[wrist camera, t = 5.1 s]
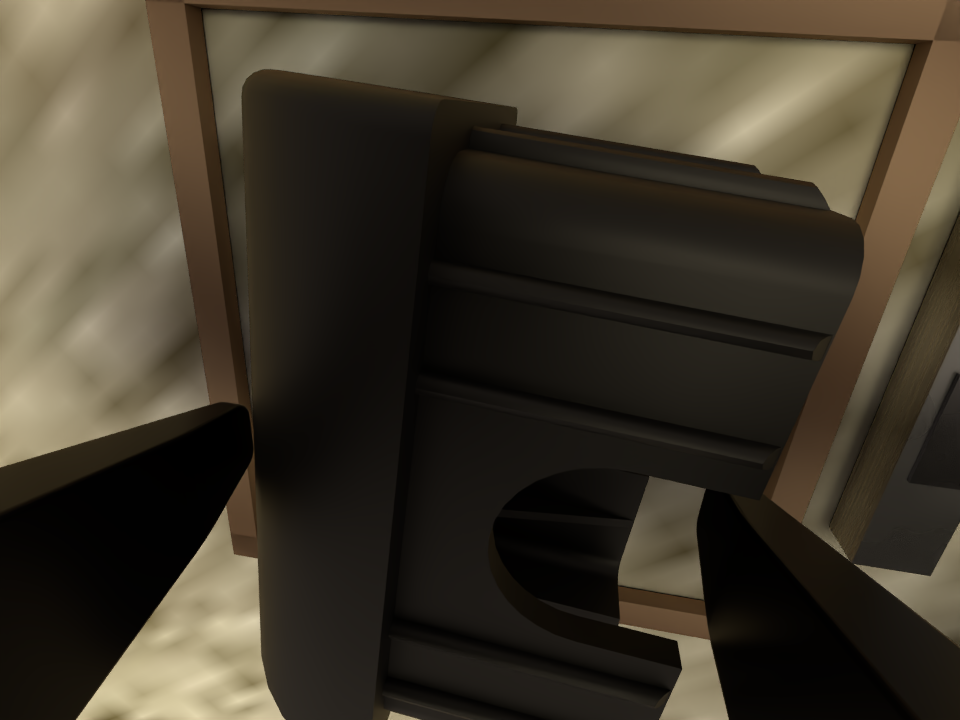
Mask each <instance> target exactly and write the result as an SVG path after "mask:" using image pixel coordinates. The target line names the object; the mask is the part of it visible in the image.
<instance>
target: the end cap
mask: <svg viewBox="0 0 960 720" xmlns="http://www.w3.org/2000/svg"><path fill="white" fill-rule="evenodd" d="M241 98H242V126H243V154H244V182H245V210H246V238H247V266H248V294H249V322H250V349H251V377H252V405H253V433H254V461H255V489H256V517H257V545H258V573H259V601H260V628H261V656H262V661H263V665H264V670H265V675H266V679H267V684H268V687H269V690H270V692H271V694H272V696H273V698H274V700H275V702H276V704H277V706H278V708H279V710H280V712H281V714H282V716H283V717H284V718H285V720H388V717H389V714H390V711H392V712H396V713H399V714H403V715H406V716H410V717H414V718H417V719H421V720H659V718H660V716H661V714H662V712H663V710H664V708H665V705H666V703H667V701H668V699H669V697H670V695H671V692H672V690H673V688H674V686H675V684H676V681H677V679H678V677H679V675H680V673H681V671H682V666H681V660H680V654H679V648H678V642H677V641H675V640H671V639H667V638H663V637H659V636H655V635H652V634H648V633H644V632H640V631H636V630H632V629H628V628H624V627H620V626H618V624H619V621H620V609H619V593H618V570H619V565H620V561H621V558H622V555H623V552H624V549H625V546H626V543H627V541H628V538H629V535H630V532H631V529H632V526H633V523H634V520H635V517H636V514H637V511H638V509H639V506H640V503H641V500H642V497H643V494H644V491H645V488H646V485H647V482H648V479H649V476H652V477H657V478H661V479H666V480H670V481H674V482H679V483H683V484H688V485H692V486H697V487H701V488H706V489H710V490H714V491H719V492H723V493H728V494H732V495H737V496H741V497H746V498H750V499H754V500H759V501H760V499H761V496H762V494H763V492H764V490H765V488H766V486H767V483H768V481H769V479H770V477H771V475H772V473H773V470H774V468H775V466H776V464H777V462H778V459H779V457H780V455H781V453H782V451H783V449H784V446H785V444H786V442H787V440H788V438H789V436H790V433H791V431H792V429H793V427H794V425H795V422H796V420H797V418H798V416H799V414H800V412H801V409H802V407H803V405H804V403H805V401H806V399H807V396H808V394H809V392H810V390H811V388H812V385H813V383H814V381H815V379H816V377H817V375H818V372H819V370H820V368H821V366H822V364H823V362H824V359H825V357H826V355H827V353H828V351H829V348H830V346H831V344H832V342H833V340H834V338H835V335H836V333H837V331H838V329H839V327H840V325H841V322H842V320H843V318H844V316H845V314H846V311H847V309H848V307H849V305H850V303H851V301H852V298H853V296H854V293H855V290H856V287H857V285H858V282H859V279H860V276H861V270H862V265H863V260H864V237H863V234H862V231H861V228H860V225H859V224H858V223H857V222H855V221H854V220H853V219H852V218H849V217H847V216H844V215H842V214H839V213H836V212H834V211H831V210H830V208H829V206H828V204H827V202H826V200H825V198H824V197H823V195H822V193H821V192H820V190H819V189H818V187H816V186H815V185H814V184H813V183H812V182H806V181H800V180H794V179H788V178H782V177H776V176H770V175H764V174H761V173H760V172H759V170H758V169H757V168H756V167H755V165H749V164H743V163H737V162H731V161H725V160H719V159H713V158H707V157H701V156H695V155H689V154H682V153H676V152H670V151H664V150H658V149H652V148H646V147H640V146H634V145H628V144H622V143H616V142H610V141H604V140H598V139H592V138H586V137H580V136H574V135H568V134H562V133H556V132H550V131H544V130H538V129H532V128H526V127H520V126H516V121H517V108H516V107H510V106H504V105H497V104H491V103H485V102H479V101H473V100H467V99H460V98H454V97H448V96H442V95H435V94H429V93H423V92H417V91H410V90H404V89H398V88H391V87H385V86H379V85H372V84H366V83H360V82H353V81H347V80H340V79H334V78H327V77H321V76H314V75H308V74H301V73H294V72H288V71H281V70H273V69H264V70H260V71H257V72H255V73H253V74H252V75H251V76H249V77H248V78H247V79H246V81H245V83H244V85H243V88H242V96H241Z"/></svg>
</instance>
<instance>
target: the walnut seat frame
mask: <svg viewBox="0 0 960 720" xmlns="http://www.w3.org/2000/svg"><path fill="white" fill-rule="evenodd" d="M145 1H146V7H147V14H148V20H149V26H150V32H151V39H152V45H153V51H154V57H155V64H156V70H157V76H158V82H159V88H160V95H161V101H162V107H163V113H164V120H165V126H166V132H167V138H168V145H169V151H170V157H171V163H172V170H173V176H174V182H175V188H176V195H177V201H178V207H179V213H180V220H181V226H182V232H183V238H184V244H185V251H186V257H187V263H188V269H189V276H190V282H191V288H192V294H193V301H194V307H195V313H196V319H197V326H198V332H199V338H200V344H201V351H202V357H203V363H204V369H205V375H206V382H207V388H208V394H209V400H210V405H211V404H214V403H218V402H228V403H235V404H241V405H244V406H245V407H246V408H247V409H248V411H249V415H250V422H251V430H252V438H253V445H254V433H253V421H252V413H251V405H250V397H249V389H248V381H247V373H246V365H245V357H244V349H243V341H242V333H241V325H240V317H239V309H238V301H237V293H236V285H235V277H234V269H233V261H232V253H231V245H230V237H229V229H228V221H227V213H226V206H225V198H224V190H223V182H222V174H221V166H220V158H219V150H218V142H217V134H216V126H215V118H214V110H213V102H212V94H211V86H210V78H209V70H208V62H207V54H206V46H205V38H204V30H203V22H202V14H201V8H213V9H233V10H253V11H273V12H293V13H312V14H332V15H352V16H372V17H392V18H411V19H431V20H451V21H471V22H491V23H511V24H530V25H550V26H570V27H590V28H610V29H629V30H649V31H669V32H689V33H709V34H729V35H748V36H768V37H788V38H808V39H828V40H847V41H867V42H887V43H907V44H916V46H915V49H914V52H913V55H912V58H911V61H910V64H909V66H908V69H907V72H906V75H905V78H904V81H903V84H902V87H901V90H900V93H899V96H898V99H897V101H896V104H895V107H894V110H893V113H892V116H891V119H890V122H889V125H888V128H887V131H886V134H885V137H884V139H883V142H882V145H881V148H880V151H879V154H878V157H877V160H876V163H875V166H874V169H873V172H872V174H871V177H870V180H869V183H868V186H867V189H866V192H865V195H864V198H863V201H862V204H861V207H860V210H859V212H858V215H857V218H856V221H855V222H857V223H858V224H859V225H860V228H861V231H862V234H863V237H864V260H863V265H862V270H861V276H860V279H859V282H858V285H857V287H856V290H855V293H854V296H853V298H852V301H851V303H850V305H849V307H848V309H847V311H846V314H845V316H844V318H843V320H842V322H841V325H840V327H839V329H838V331H837V333H836V335H835V338H834V340H833V342H832V344H831V346H830V348H829V351H828V353H827V355H826V357H825V359H824V362H823V364H822V366H821V368H820V370H819V372H818V375H817V377H816V379H815V381H814V383H813V385H812V388H811V390H810V392H809V394H808V396H807V399H806V401H805V403H804V405H803V407H802V409H801V412H800V414H799V416H798V418H797V420H796V422H795V425H794V427H793V429H792V431H791V433H790V436H789V438H788V440H787V442H786V444H785V446H784V449H783V451H782V453H781V455H780V457H779V459H778V462H777V464H776V466H775V468H774V470H773V473H772V475H771V477H770V479H769V481H768V483H767V486H766V488H765V490H764V492H763V494H764V495H765V496H767V497H768V498H769V499H770V500H772V501H773V502H774V503H776V504H777V505H778V506H779V507H781V508H782V509H783V510H785V511H786V512H787V513H788V514H790V515H791V516H792V517H794V518H795V519H796V520H797V521H799V522H800V523H802V520H803V518H804V515H805V513H806V510H807V507H808V505H809V502H810V500H811V497H812V495H813V492H814V490H815V487H816V484H817V482H818V479H819V477H820V474H821V472H822V469H823V466H824V464H825V461H826V459H827V456H828V454H829V451H830V448H831V446H832V443H833V441H834V438H835V436H836V433H837V431H838V428H839V425H840V423H841V420H842V418H843V415H844V413H845V410H846V407H847V405H848V402H849V400H850V397H851V395H852V392H853V389H854V387H855V384H856V382H857V379H858V377H859V374H860V372H861V369H862V366H863V364H864V361H865V359H866V356H867V354H868V351H869V348H870V346H871V343H872V341H873V338H874V336H875V333H876V330H877V328H878V325H879V323H880V320H881V318H882V315H883V313H884V310H885V307H886V305H887V302H888V300H889V297H890V295H891V292H892V289H893V287H894V284H895V282H896V279H897V277H898V274H899V271H900V269H901V266H902V264H903V261H904V259H905V256H906V254H907V251H908V248H909V246H910V243H911V241H912V238H913V236H914V233H915V230H916V228H917V225H918V223H919V220H920V218H921V215H922V212H923V210H924V207H925V205H926V202H927V200H928V197H929V195H930V192H931V189H932V187H933V184H934V182H935V179H936V177H937V174H938V171H939V169H940V166H941V164H942V161H943V159H944V156H945V153H946V151H947V148H948V146H949V143H950V141H951V138H952V136H953V133H954V130H955V128H956V125H957V123H958V120H959V118H960V0H145ZM226 507H227V513H228V519H229V525H230V531H231V538H232V544H233V550H234V554H236V555H242V556H247V557H253V558H258V545H257V517H256V489H255V461H254V451H253V457H252V460H251V462H250V464H249V466H248V468H247V470H246V471H245V473H244V475H243V477H242V478H241V480H240V482H239V483H238V485H237V487H236V489H235V490H234V492H233V494H232V496H231V497H230V499H229V501H228V503H227V504H226ZM618 593H619V609H620V621H619V623H620V624H625V625H631V626H637V627H642V628H648V629H653V630H659V631H664V632H670V633H676V634H681V635H687V636H692V637H698V638H703V639H709V640H710V636H709V632H708V626H707V619H706V611H705V602H704V601H701V600H695V599H689V598H683V597H677V596H671V595H666V594H660V593H654V592H648V591H642V590H637V589H631V588H625V587H619V586H618Z"/></svg>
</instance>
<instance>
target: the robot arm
mask: <svg viewBox="0 0 960 720" xmlns="http://www.w3.org/2000/svg"><path fill="white" fill-rule="evenodd" d="M253 451H254V445H253V438H252V430H251V422H250V415H249V411H248V409H247V408H246V407H245V406H244V405H241V404H235V403H228V402H218V403H214V404H211V405H208V406H204V407H201V408H198V409H194V410H191V411H188V412H184V413H181V414H178V415H174V416H171V417H168V418H164V419H161V420H158V421H154V422H151V423H148V424H144V425H141V426H138V427H134V428H131V429H128V430H124V431H121V432H118V433H114V434H111V435H108V436H104V437H101V438H98V439H94V440H91V441H88V442H84V443H81V444H77V445H74V446H71V447H67V448H64V449H61V450H57V451H54V452H51V453H47V454H44V455H41V456H37V457H34V458H31V459H27V460H24V461H21V462H17V463H14V464H11V465H7V466H4V467H1V468H0V720H76V719H77V718H78V716H79V715H80V713H81V712H82V711H83V709H84V708H85V707H86V705H87V704H88V702H89V701H90V700H91V698H92V697H93V695H94V694H95V693H96V691H97V690H98V688H99V687H100V686H101V684H102V683H103V682H104V680H105V679H106V677H107V676H108V675H109V673H110V672H111V670H112V669H113V668H114V666H115V665H116V664H117V662H118V661H119V659H120V658H121V657H122V655H123V654H124V652H125V651H126V650H127V648H128V647H129V646H130V644H131V643H132V641H133V640H134V639H135V637H136V636H137V634H138V633H139V632H140V630H141V629H142V628H143V626H144V625H145V623H146V622H147V621H148V619H149V618H150V616H151V615H152V614H153V612H154V611H155V610H156V608H157V607H158V605H159V604H160V603H161V601H162V600H163V598H164V597H165V596H166V594H167V593H168V592H169V590H170V589H171V587H172V586H173V585H174V583H175V582H176V580H177V579H178V578H179V576H180V575H181V574H182V572H183V571H184V569H185V568H186V567H187V565H188V564H189V562H190V561H191V560H192V558H193V557H194V556H195V554H196V553H197V551H198V550H199V548H200V547H201V545H202V544H203V543H204V541H205V540H206V538H207V536H208V535H209V533H210V532H211V530H212V528H213V527H214V525H215V523H216V522H217V520H218V518H219V516H220V515H221V513H222V511H223V510H224V508H225V506H226V504H227V503H228V501H229V499H230V497H231V496H232V494H233V492H234V490H235V489H236V487H237V485H238V483H239V482H240V480H241V478H242V477H243V475H244V473H245V471H246V470H247V468H248V466H249V464H250V462H251V460H252V457H253ZM697 541H698V550H699V559H700V567H701V576H702V585H703V594H704V602H705V611H706V619H707V626H708V632H709V636H710V641H711V646H712V650H713V654H714V659H715V663H716V667H717V671H718V676H719V680H720V684H721V688H722V692H723V697H724V701H725V705H726V709H727V714H728V718H729V720H960V647H959V646H958V645H957V644H956V643H954V642H953V641H952V640H950V639H949V638H948V637H947V636H945V635H944V634H943V633H941V632H940V631H939V630H938V629H936V628H935V627H934V626H932V625H931V624H930V623H929V622H927V621H926V620H925V619H923V618H922V617H921V616H920V615H918V614H917V613H916V612H914V611H913V610H912V609H911V608H909V607H908V606H907V605H905V604H904V603H903V602H902V601H900V600H899V599H898V598H896V597H895V596H894V595H893V594H891V593H890V592H889V591H887V590H886V589H885V588H884V587H882V586H881V585H880V584H878V583H877V582H876V581H875V580H873V579H872V578H871V577H869V576H868V575H867V574H866V573H864V572H863V571H862V570H860V569H859V568H858V567H857V566H855V565H854V564H853V563H851V562H850V561H849V560H848V559H846V558H845V557H844V556H842V555H841V554H840V553H839V552H837V551H836V550H835V549H833V548H832V547H831V546H830V545H828V544H827V543H826V542H824V541H823V540H822V539H821V538H819V537H818V536H817V535H815V534H814V533H813V532H812V531H810V530H809V529H808V528H806V527H805V526H804V525H803V524H801V523H800V522H799V521H797V520H796V519H795V518H794V517H792V516H791V515H790V514H788V513H787V512H786V511H785V510H783V509H782V508H781V507H779V506H778V505H777V504H776V503H774V502H773V501H772V500H770V499H769V498H768V497H767V496H765V495H764V494H762V496H761V499H760V501H759V500H754V499H750V498H746V497H741V496H737V495H732V494H728V493H723V492H719V491H714V490H710V489H706V490H705V494H704V497H703V501H702V504H701V508H700V511H699V514H698V519H697Z"/></svg>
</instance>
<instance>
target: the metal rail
mask: <svg viewBox="0 0 960 720" xmlns="http://www.w3.org/2000/svg"><path fill="white" fill-rule="evenodd" d="M959 522H960V214H959V217H958V219H957V221H956V224H955V226H954V229H953V231H952V233H951V236H950V238H949V241H948V243H947V245H946V248H945V250H944V253H943V255H942V257H941V260H940V262H939V265H938V267H937V269H936V272H935V274H934V277H933V279H932V281H931V284H930V286H929V288H928V291H927V293H926V296H925V298H924V300H923V303H922V305H921V308H920V310H919V312H918V315H917V317H916V320H915V322H914V324H913V327H912V329H911V332H910V334H909V336H908V339H907V341H906V344H905V346H904V348H903V351H902V353H901V356H900V358H899V360H898V363H897V365H896V367H895V370H894V372H893V375H892V377H891V379H890V382H889V384H888V387H887V389H886V391H885V394H884V396H883V399H882V401H881V403H880V406H879V408H878V411H877V413H876V415H875V418H874V420H873V423H872V425H871V427H870V430H869V432H868V434H867V437H866V439H865V442H864V444H863V446H862V449H861V451H860V454H859V456H858V458H857V461H856V463H855V466H854V468H853V470H852V473H851V475H850V478H849V480H848V482H847V485H846V487H845V490H844V492H843V494H842V497H841V499H840V502H839V504H838V506H837V509H836V511H835V513H834V516H833V518H832V521H831V523H830V525H829V527H830V529H831V531H832V532H833V534H834V536H835V537H836V539H837V541H838V542H839V544H840V545H841V547H842V549H843V550H844V552H845V554H846V555H847V557H848V559H849V560H850V562H851V563H853V564H858V565H865V566H871V567H877V568H884V569H890V570H896V571H902V572H909V573H915V574H921V575H928V576H931V574H932V572H933V570H934V568H935V567H936V565H937V563H938V561H939V559H940V557H941V555H942V554H943V552H944V550H945V548H946V546H947V544H948V543H949V541H950V539H951V537H952V535H953V533H954V531H955V530H956V528H957V526H958V524H959Z"/></svg>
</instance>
